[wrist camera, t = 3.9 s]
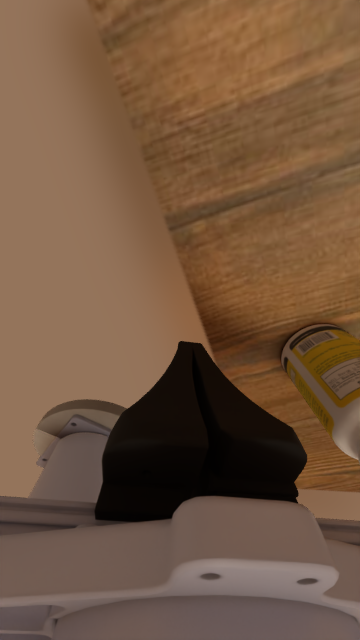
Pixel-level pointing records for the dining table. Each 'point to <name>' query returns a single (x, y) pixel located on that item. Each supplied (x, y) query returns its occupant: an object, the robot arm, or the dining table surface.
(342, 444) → the supplement bottle
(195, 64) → the dining table surface
